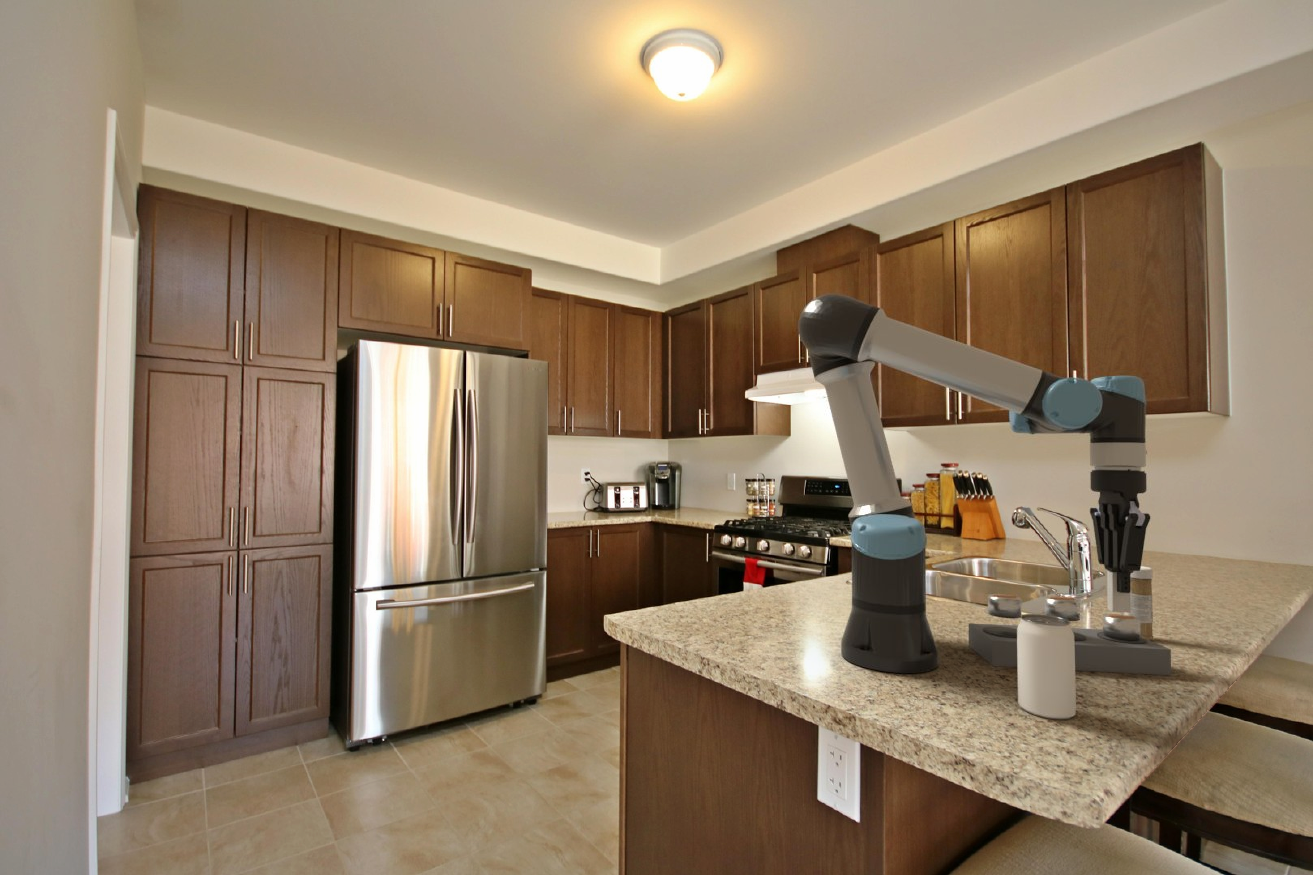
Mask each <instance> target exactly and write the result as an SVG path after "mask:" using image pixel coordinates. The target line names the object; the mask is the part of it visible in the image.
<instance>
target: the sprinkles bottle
mask: <svg viewBox="0 0 1313 875" xmlns="http://www.w3.org/2000/svg"><path fill="white" fill-rule="evenodd" d="M1153 577H1154V576H1153V568H1152V567H1148V566H1144V565H1143V566H1142V565H1141V569H1140V571H1133V573H1131V575H1130V584H1131V613H1126V612H1123V615H1127V616H1134V617H1136V618H1138V619H1140V632H1141V637H1144V638H1146V639H1148V640H1150V641H1153V640H1154V635H1153V622H1154V620H1153V619H1154V618H1153V617H1154V616H1153V613H1154V611H1153V592H1152V591H1153V589H1152V588H1153V587H1152V586H1153V585H1152V581H1153Z"/></svg>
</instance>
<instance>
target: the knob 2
mask: <svg viewBox="0 0 1313 875" xmlns="http://www.w3.org/2000/svg"><path fill="white" fill-rule="evenodd" d="M1102 629H1103V634H1104V635H1106V636H1109V637H1113V638H1118V639H1124V640H1140V639H1141V632H1140V619H1138V618H1136V617H1134V616H1127V615H1124V614H1121V613H1120V614H1119V613H1103V614H1102Z"/></svg>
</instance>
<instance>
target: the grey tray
mask: <svg viewBox="0 0 1313 875" xmlns="http://www.w3.org/2000/svg"><path fill="white" fill-rule="evenodd" d="M1017 627H1018V625H1014V624H1011V625H1009V624H994V623H993V624H992V623H988V624H987V623H970V622H969V623H968V647H969V648H971V649H972V650H973V651H974V652H975V653H977V654H978V655H979V656H980V657H981V658H983V659H984V660H986V662H988V664H990V665H991V666H993V667H995V666H996V667H1011V668H1018V666H1017ZM1070 628H1071V630H1072V631H1073V633H1074V644H1075V671H1083V672H1100V673H1101V672H1102V673H1119V674H1135V675H1136V674H1138V675H1139V674H1141V675H1154V676H1155V675H1156V676H1157V675H1158V676H1172V652H1171V650H1172V649H1170V648H1168V647H1166V646H1164V645H1162V644H1160V643H1157V642H1155V641H1153V640H1148V639H1146V638H1144V637H1141V639H1140V640H1124V639H1118V638H1113V637H1109V636H1106V635H1104V634H1103V628H1102V629H1101V628H1100V629H1097V628H1079V627H1076V628H1075V627H1070Z"/></svg>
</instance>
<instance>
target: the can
mask: <svg viewBox="0 0 1313 875" xmlns="http://www.w3.org/2000/svg"><path fill="white" fill-rule="evenodd" d="M1070 625H1071V621H1068V620H1066V619H1063V618H1059V617H1055V616H1049V615H1045V614H1037V613H1026V614H1022V615H1021V618H1020V621H1019V623H1018V625H1017V626H1018V627H1017V666H1018V667H1017V702H1018V706H1020V708H1021V709H1022V710H1024V711H1025V712H1026V713H1028V714H1030V715H1033V716H1036V717H1040V718H1044V719H1050V720H1055V721H1056V720H1058V721H1059V720H1060V721H1061V720H1062V721H1063V720H1070V719H1072V718H1073V717H1074V716H1075V715H1076V714H1077V712H1076V711H1077V710H1076V709H1077V708H1076V707H1077V706H1076V702H1077V701H1076V699H1077V698H1076V695H1077V694H1076V670H1075V644H1074V633H1073V631H1072V630H1071V628H1072V627H1071V626H1070Z"/></svg>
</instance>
